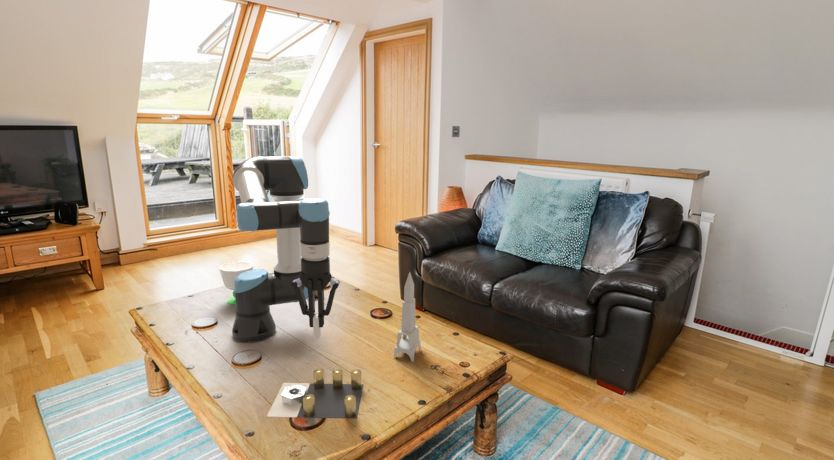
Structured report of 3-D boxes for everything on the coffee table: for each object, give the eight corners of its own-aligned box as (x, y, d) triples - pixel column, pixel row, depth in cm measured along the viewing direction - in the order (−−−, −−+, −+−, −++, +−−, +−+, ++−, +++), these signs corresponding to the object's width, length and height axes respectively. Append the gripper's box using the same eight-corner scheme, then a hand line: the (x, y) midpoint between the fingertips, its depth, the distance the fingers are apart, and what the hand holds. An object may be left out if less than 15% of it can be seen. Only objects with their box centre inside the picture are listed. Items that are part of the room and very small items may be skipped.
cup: (248, 307, 190) (246, 271, 186) (216, 306, 190) (213, 270, 186) (260, 295, 203) (258, 261, 200) (229, 294, 203) (227, 260, 200)
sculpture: (420, 350, 159) (423, 268, 152) (413, 361, 151) (415, 276, 144) (402, 346, 161) (404, 266, 154) (394, 357, 153) (395, 273, 146)
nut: (284, 408, 124) (284, 400, 123) (279, 397, 129) (279, 388, 128) (309, 401, 127) (309, 393, 127) (303, 390, 132) (303, 382, 132)
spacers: (302, 417, 120) (301, 400, 119) (315, 383, 136) (314, 368, 135) (355, 418, 121) (355, 401, 119) (361, 384, 136) (361, 369, 135)
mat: (266, 418, 120) (266, 416, 120) (283, 384, 136) (283, 382, 136) (357, 420, 121) (357, 418, 121) (363, 386, 136) (363, 384, 136)
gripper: (286, 260, 117) (290, 343, 123) (337, 262, 117) (338, 344, 123) (294, 252, 124) (297, 330, 130) (341, 253, 125) (342, 331, 130)
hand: (317, 337), depth 127 cm, fingers closed
